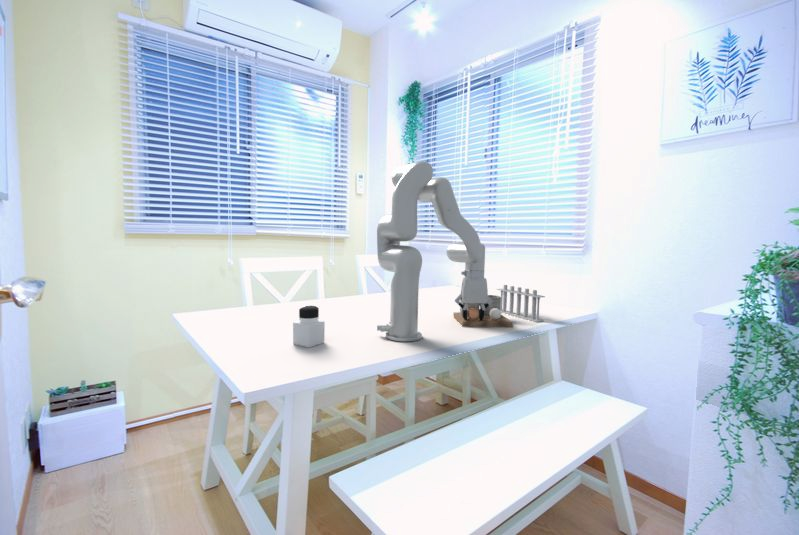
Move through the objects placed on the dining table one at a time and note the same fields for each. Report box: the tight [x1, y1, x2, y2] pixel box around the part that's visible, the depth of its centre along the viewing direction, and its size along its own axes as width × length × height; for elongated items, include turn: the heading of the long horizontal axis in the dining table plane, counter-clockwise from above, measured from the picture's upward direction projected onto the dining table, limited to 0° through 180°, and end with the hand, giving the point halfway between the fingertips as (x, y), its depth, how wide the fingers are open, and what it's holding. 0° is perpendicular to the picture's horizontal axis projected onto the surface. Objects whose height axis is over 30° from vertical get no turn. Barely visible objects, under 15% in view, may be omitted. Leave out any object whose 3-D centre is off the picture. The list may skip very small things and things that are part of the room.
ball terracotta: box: [467, 308, 479, 319], centre depth 150 cm, size 4×4×4 cm
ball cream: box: [490, 308, 502, 319], centre depth 151 cm, size 4×4×4 cm
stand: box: [452, 294, 514, 328], centre depth 156 cm, size 20×18×10 cm
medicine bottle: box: [292, 305, 326, 348], centre depth 120 cm, size 7×7×12 cm
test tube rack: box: [496, 284, 546, 324], centre depth 168 cm, size 25×4×13 cm, turn 27°
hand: (473, 319), depth 150 cm, fingers open, 5 cm apart
